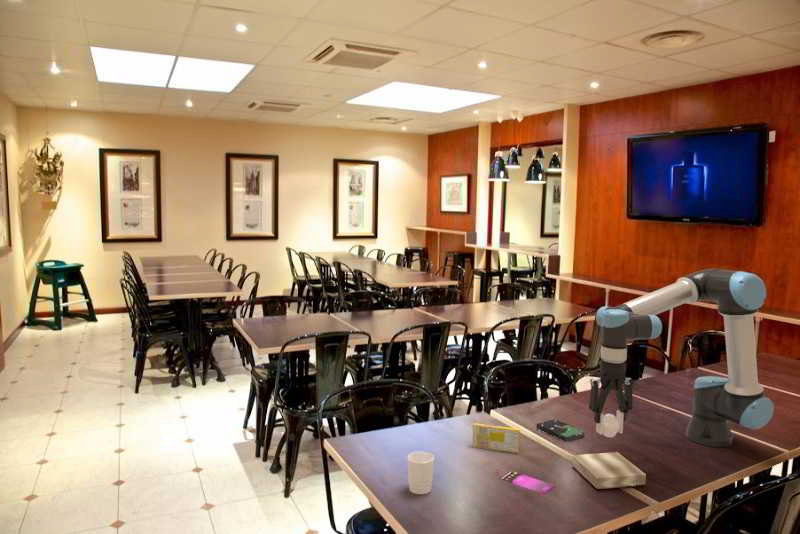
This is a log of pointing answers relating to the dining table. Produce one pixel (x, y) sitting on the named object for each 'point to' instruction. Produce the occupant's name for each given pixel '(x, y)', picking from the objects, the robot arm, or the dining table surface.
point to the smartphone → (527, 482)
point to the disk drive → (560, 430)
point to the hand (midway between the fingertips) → (609, 432)
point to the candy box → (496, 438)
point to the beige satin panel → (608, 470)
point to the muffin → (610, 425)
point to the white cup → (420, 472)
